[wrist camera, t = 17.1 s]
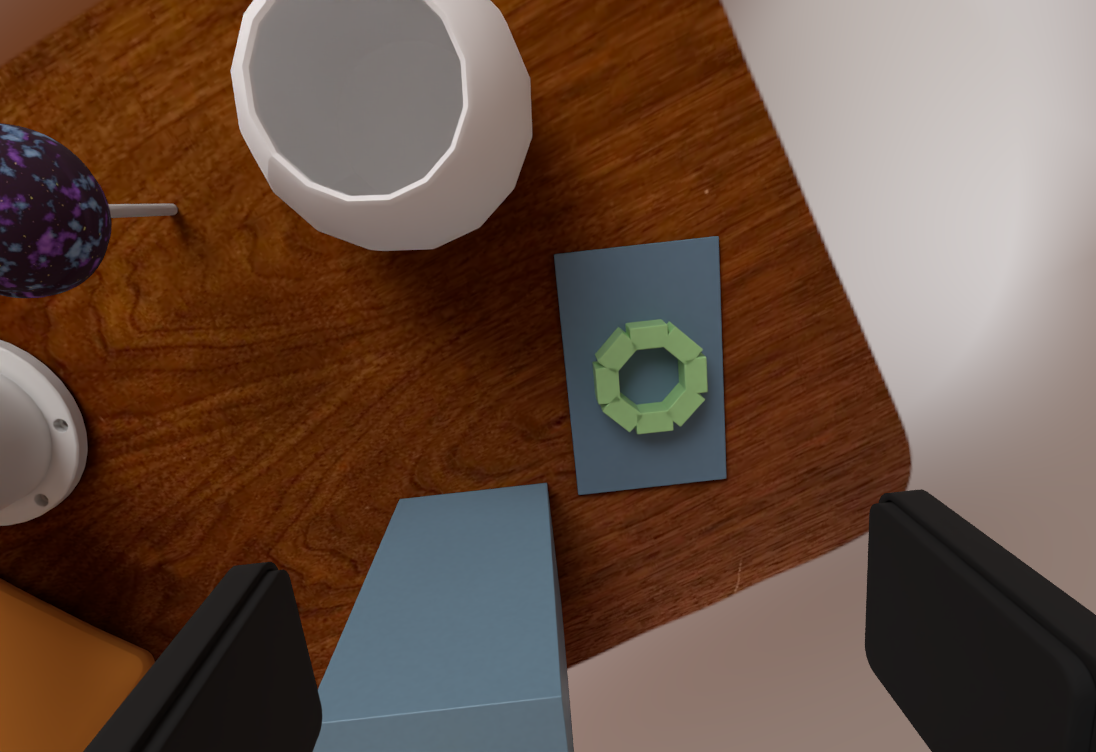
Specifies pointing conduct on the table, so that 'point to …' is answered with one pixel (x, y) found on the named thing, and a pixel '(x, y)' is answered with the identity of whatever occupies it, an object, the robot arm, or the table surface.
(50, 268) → the lollipop
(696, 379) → the ring
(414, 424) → the table surface
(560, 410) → the table surface
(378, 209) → the cup
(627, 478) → the mat
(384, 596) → the stacking stand
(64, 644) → the orange rounded block
